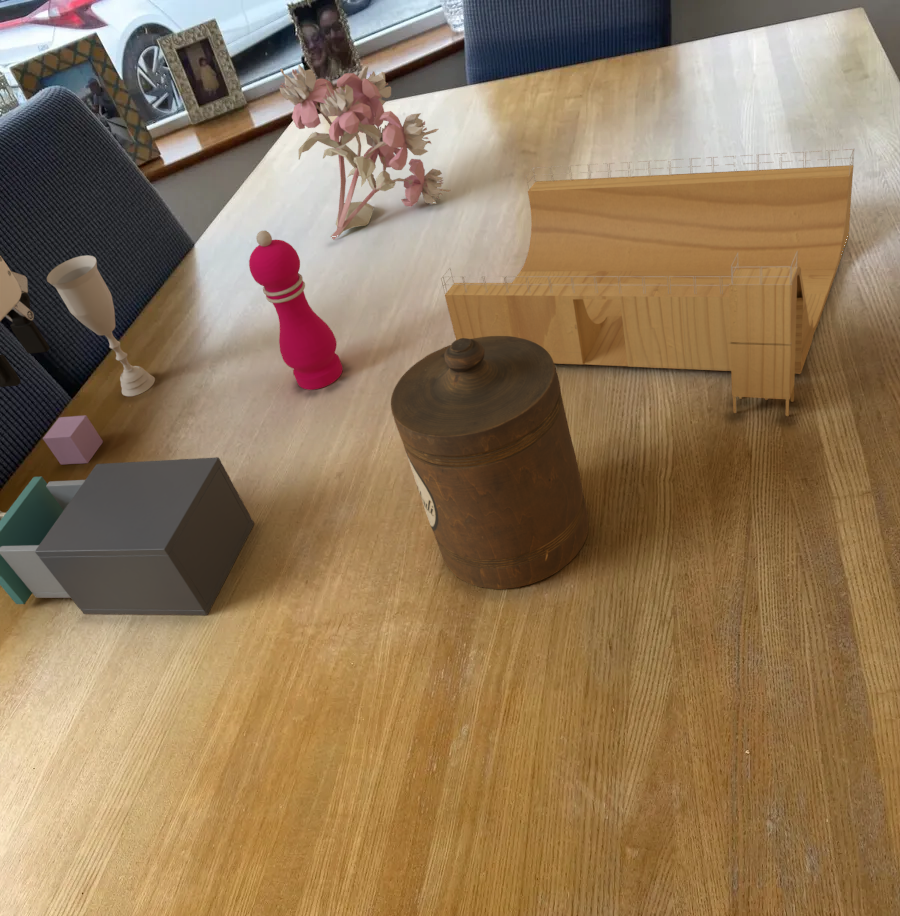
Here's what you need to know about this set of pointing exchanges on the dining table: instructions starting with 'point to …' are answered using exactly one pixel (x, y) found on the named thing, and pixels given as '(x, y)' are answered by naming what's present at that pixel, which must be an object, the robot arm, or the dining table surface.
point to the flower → (354, 115)
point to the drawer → (32, 539)
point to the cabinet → (148, 538)
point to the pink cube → (73, 440)
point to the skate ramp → (674, 272)
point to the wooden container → (493, 459)
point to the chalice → (96, 312)
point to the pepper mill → (295, 314)
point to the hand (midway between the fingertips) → (24, 366)
